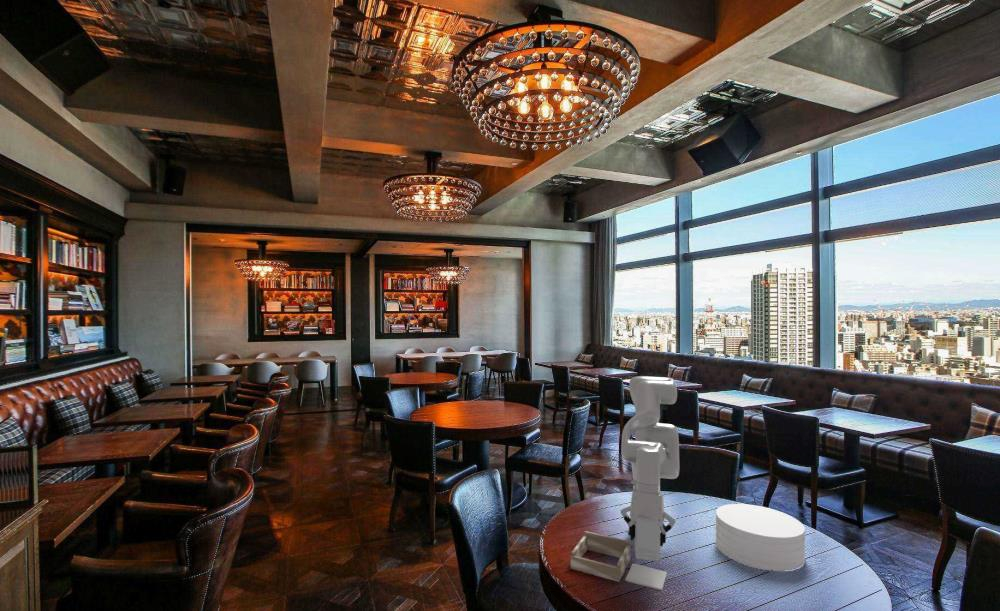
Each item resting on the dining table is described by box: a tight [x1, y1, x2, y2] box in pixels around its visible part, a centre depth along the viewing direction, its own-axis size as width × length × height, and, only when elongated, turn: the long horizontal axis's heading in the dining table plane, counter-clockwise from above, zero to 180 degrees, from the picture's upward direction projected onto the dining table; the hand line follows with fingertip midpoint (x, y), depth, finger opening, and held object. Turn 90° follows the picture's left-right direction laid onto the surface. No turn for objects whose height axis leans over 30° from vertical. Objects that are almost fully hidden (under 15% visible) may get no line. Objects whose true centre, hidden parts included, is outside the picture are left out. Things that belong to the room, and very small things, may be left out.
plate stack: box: [715, 503, 806, 571], centre depth 171 cm, size 28×28×12 cm
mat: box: [625, 562, 668, 591], centre depth 153 cm, size 11×11×1 cm
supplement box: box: [634, 516, 661, 562], centre depth 153 cm, size 7×7×13 cm
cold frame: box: [570, 530, 632, 583], centre depth 161 cm, size 16×16×6 cm
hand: (647, 541), depth 153 cm, fingers closed on supplement box, 8 cm apart
